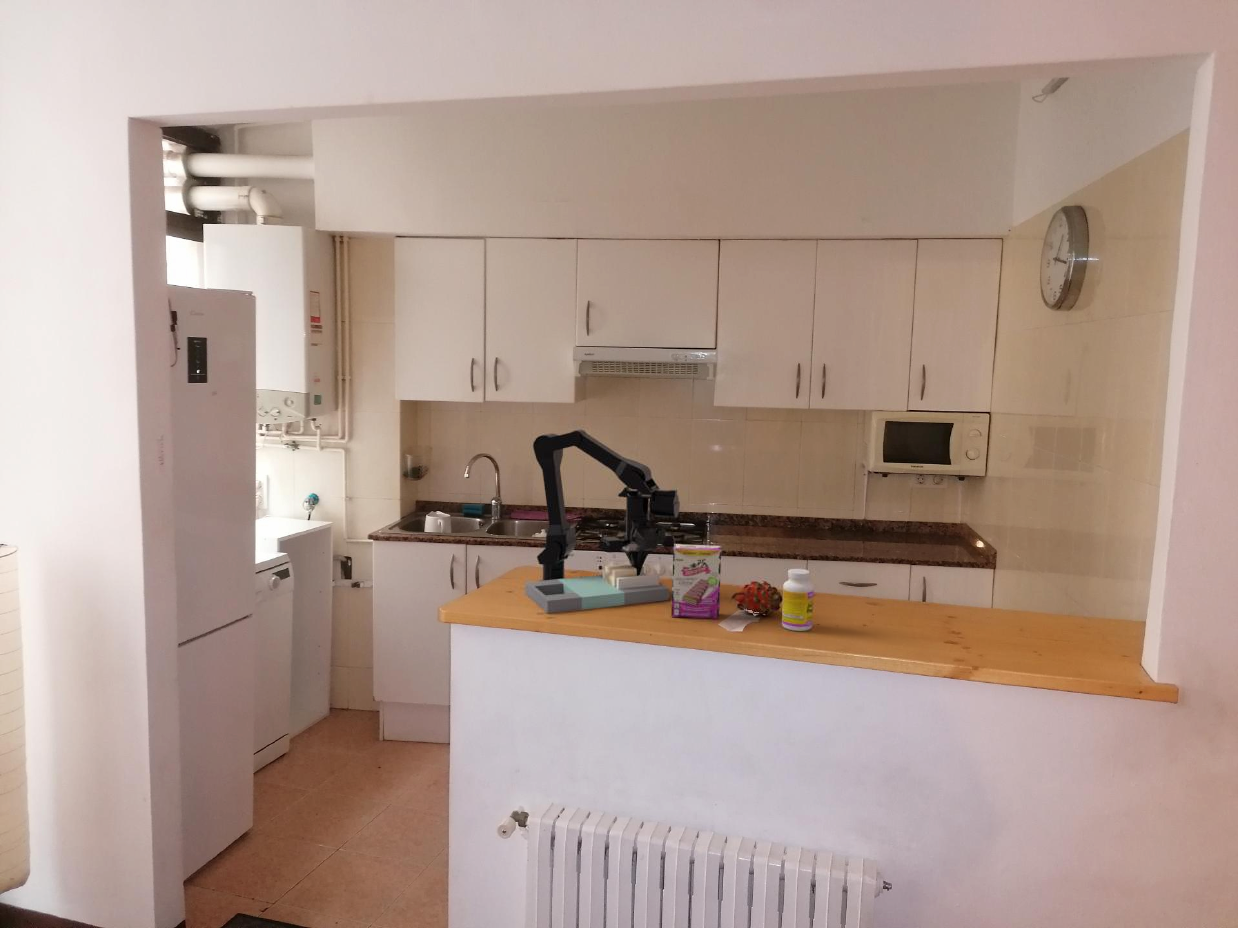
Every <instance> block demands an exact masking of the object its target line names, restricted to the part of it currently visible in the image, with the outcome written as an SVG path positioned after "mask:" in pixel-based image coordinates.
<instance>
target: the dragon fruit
mask: <svg viewBox="0 0 1238 928" xmlns="http://www.w3.org/2000/svg"><path fill="white" fill-rule="evenodd" d="M730 599H731V601H733V600H735V602H738V603H736V605H735V606H736V608H737V609H739V610H740V611H742V610H744V609H745V610H746V609H747V610H752V611H753V613H754V612H759V613H754V614H759V615H760V614H762V613H763V614H765V615H764V616H769V615H770V612H775V611H779V610H780V609H781V605H780V604H781V603H783V595H782V594H781V592H780V591H779V590H778V588H777V587H775V586H772V585H771V584H770V583H769V582H767V581H766V580H765V581H764V580H762V583H761V582H758V581H757V580H755V581H750V584H748V583H747V584H744V587H743V588H741V589H739V590H738V591H737V592H735V593H734V594H733V595H732V596H731V598H730ZM761 612H762V613H761ZM753 613H752V614H753ZM763 614H762V615H763Z"/></svg>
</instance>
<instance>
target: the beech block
mask: <svg viewBox="0 0 1238 928" xmlns="http://www.w3.org/2000/svg"><path fill="white" fill-rule="evenodd" d="M604 567H605V568H604V569H605V581H606V582H607V583H609V584H610V585H612V586H614V587H617V578H620V577H631V576H637V569H636V568H634V567H632V566H631V564H628V563H622V564H611V565H610V564H609V565H605V566H604Z"/></svg>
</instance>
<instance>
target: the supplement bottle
mask: <svg viewBox="0 0 1238 928" xmlns="http://www.w3.org/2000/svg"><path fill="white" fill-rule="evenodd" d="M810 575H811V574H810V570H809V569H805V568H791V569H788V571H787V576H788V580H787V581H785V582H784V583H783V585H782V598H783V600H782V609H781V611H782V612H781V614H782V615H781V625H782V628H785V629H786V630H788V631H794V632H806V631H809V630H811V629H812V627H813V615H814V614H813V613H814V612H813V611H814V607H813V606H814V591H815V590H814V585H813V583H812V582H810V581H809V579H810V577H811V576H810Z"/></svg>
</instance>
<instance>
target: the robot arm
mask: <svg viewBox="0 0 1238 928" xmlns="http://www.w3.org/2000/svg"><path fill="white" fill-rule="evenodd" d="M532 447H533V452H534V456H535V460H536V462H537V463H538V465H539V467H540V468H541V471H542V478H543V486H544V492H545V493H544V494H545V501H546V503H545V504H546V513H547V518H548V527H547V530H546V535H545V548H544V549H543V550H542V551H541V552H540V553H539V554H538V555H537V556H536V559H537V562H538V564H539V565H542V579H541V580H538V581H544V580H555V579H565V560H568V558H569V555H570V554H571V553H572V552H573V551H574V549H575V548H576V543H577V542H578V539H577V536H576V527H575V526H570V525H569V523H568V520H567V516H566V506H565V497H564V491H563V482H562V474H561V473H562V471H561V464H562V461H563V457H564V449H566V448H571V447H576V448H577V449H579V450H580V451H582V452H584V453H585V454H587V455H588V456H589V457H591V458H592V459H594V460H595V461H597V462H599V463H600V464H602V465H604V466H605V467H606V468H608V469H609V470H611V472H613V473H614V474H615V476H616V477H617V479H618V480H619V481H621V483H622V484H624V485H625V487H624V488H623V489H622V491H621V492H619V493H618V494H617V496H618V497H619V498H625V499H626V500H625V501H626V502H625V503H626V505H625V506H626V507H625V508H626V509H625V511H626V512H625V517H624V518H623V521H624V522H625V523H626V524H625V533H624V534H623V538H625V539H620V538H618V537H617V536H606V537H601V538H600V540H599V543H598V544H599V545H598V546H599V547H598V548H599V549H600V550H602V551H604V552H606V553H618V552H619V553H620V551H622V552H623V553H625V555H626V557H627V559H628V561H629V563H630V564H629V565H630V566H632V567H634V568H636V569H637V576H639V575H640V572H641V570H642V567H644V563H645V561H646V559H647V557H648V556H649V554H651V553H652V552H655V550H657V549H658V547H659V545H661V546H662V547H663V548H664V549H665V548H674V544H676V539H675V537H674V535H672V534H669V533H668V532H666V529H664V527H657V528H653V527H652V520H651V519H650V514H652V515H653V517H662V518H678V516H679V512H680V499H679V495H678V490H677V489H660V487H659V485H658V484H657V483H656V481H655V480H654V479H653V477H652V471H651V469H650V467H649V466H647V465H645V464H644V463H642V462H639V461H637V460H633V459H630V458H627V457H624V456H622V455H621V454H619V453H617V452H616V451H614V450H613V449H612V448H610V447H608V446H606V445H605V444H604V443H602V442H600V441H599V440H597V439H596V438H595V437H593V436H592V435H590V434H588V433H587V431H585V430H583V429H575V430H573V431H570V432H567V433H563V434H557V433H547V434H546V433H545V434H542V435H539V436H537V437H536V438H535V440H534V441H533V443H532Z"/></svg>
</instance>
